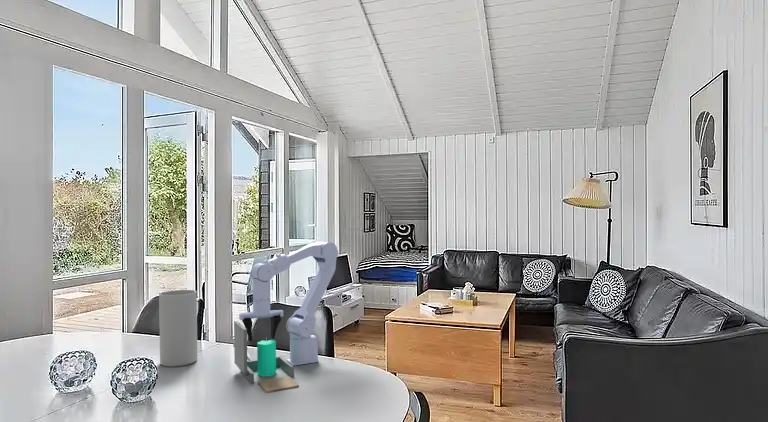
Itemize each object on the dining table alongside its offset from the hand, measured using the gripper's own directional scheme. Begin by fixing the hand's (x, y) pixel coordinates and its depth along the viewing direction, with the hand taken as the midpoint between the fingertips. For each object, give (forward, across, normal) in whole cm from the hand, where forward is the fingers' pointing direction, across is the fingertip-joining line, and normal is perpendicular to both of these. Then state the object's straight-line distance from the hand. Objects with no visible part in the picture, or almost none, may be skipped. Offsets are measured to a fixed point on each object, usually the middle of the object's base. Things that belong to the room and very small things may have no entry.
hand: (261, 339), depth 175 cm
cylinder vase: (+11, +24, -24) cm, 36 cm away
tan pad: (+10, -1, +17) cm, 20 cm away
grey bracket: (+10, 0, +4) cm, 11 cm away
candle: (+11, -1, +4) cm, 12 cm away
